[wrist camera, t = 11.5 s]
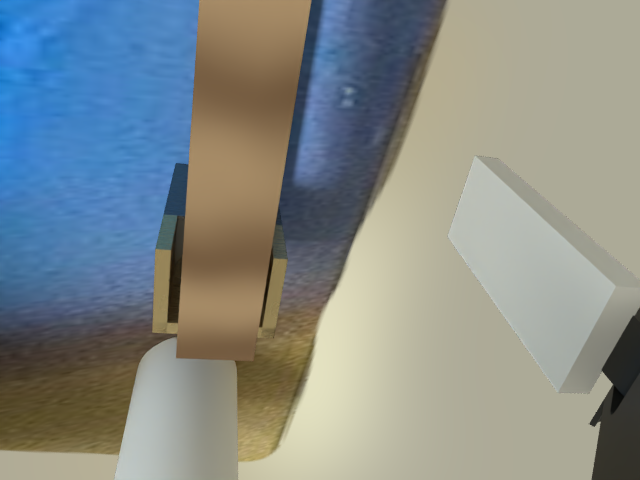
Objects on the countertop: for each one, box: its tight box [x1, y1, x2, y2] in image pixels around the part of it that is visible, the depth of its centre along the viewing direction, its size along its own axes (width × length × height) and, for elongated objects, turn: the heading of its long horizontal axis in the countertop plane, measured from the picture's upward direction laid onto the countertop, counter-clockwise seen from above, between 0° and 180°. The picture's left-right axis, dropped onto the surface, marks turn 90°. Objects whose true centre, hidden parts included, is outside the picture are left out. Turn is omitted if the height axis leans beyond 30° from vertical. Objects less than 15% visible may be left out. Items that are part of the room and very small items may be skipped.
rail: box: [176, 0, 311, 361], centre depth 24 cm, size 28×4×8 cm, turn 170°
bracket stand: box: [152, 163, 288, 338], centre depth 30 cm, size 33×8×12 cm, turn 170°
